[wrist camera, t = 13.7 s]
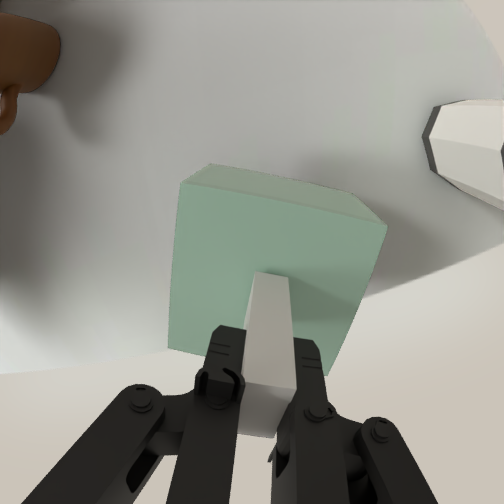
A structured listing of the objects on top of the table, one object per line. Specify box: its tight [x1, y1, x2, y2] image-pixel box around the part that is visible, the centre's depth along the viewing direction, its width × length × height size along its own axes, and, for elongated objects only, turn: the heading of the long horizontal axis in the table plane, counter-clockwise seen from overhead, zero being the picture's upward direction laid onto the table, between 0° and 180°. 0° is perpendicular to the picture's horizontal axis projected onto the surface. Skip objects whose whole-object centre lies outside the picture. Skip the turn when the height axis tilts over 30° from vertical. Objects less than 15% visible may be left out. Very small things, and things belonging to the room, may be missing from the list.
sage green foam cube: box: [168, 164, 388, 376], centre depth 17 cm, size 9×9×7 cm
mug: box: [0, 12, 60, 135], centre depth 16 cm, size 12×8×9 cm, turn 12°
